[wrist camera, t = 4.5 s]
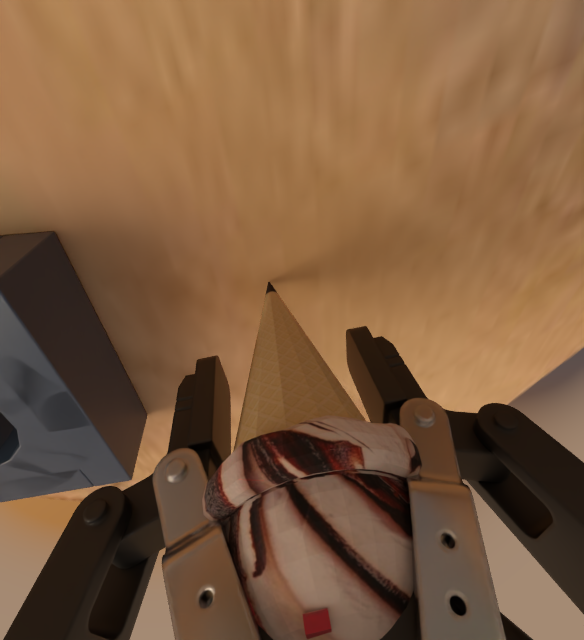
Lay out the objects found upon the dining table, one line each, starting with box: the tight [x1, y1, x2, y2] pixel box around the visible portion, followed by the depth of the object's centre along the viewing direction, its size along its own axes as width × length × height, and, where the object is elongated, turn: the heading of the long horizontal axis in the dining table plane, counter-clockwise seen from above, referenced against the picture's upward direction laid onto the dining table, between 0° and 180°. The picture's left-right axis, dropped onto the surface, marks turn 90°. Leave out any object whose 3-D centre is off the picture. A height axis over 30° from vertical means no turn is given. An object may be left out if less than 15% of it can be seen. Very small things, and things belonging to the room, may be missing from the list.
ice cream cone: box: [202, 282, 422, 640], centre depth 11 cm, size 6×6×15 cm
